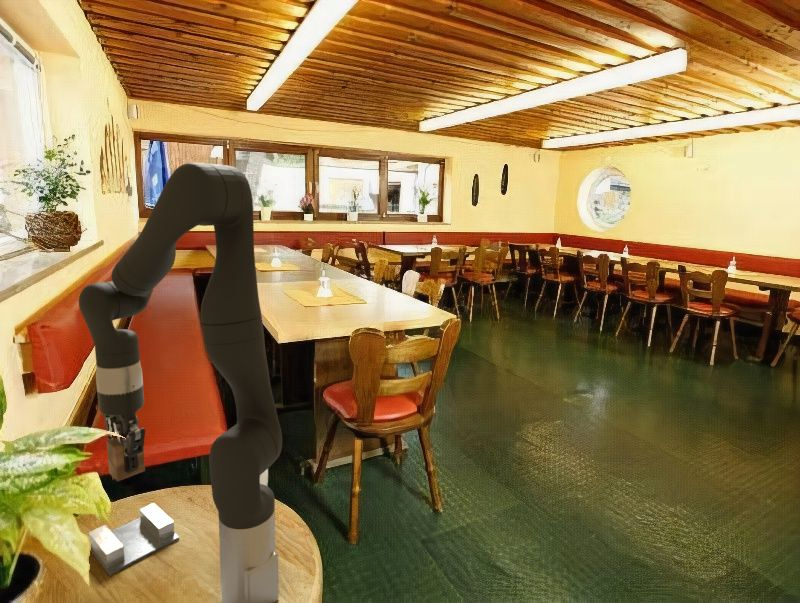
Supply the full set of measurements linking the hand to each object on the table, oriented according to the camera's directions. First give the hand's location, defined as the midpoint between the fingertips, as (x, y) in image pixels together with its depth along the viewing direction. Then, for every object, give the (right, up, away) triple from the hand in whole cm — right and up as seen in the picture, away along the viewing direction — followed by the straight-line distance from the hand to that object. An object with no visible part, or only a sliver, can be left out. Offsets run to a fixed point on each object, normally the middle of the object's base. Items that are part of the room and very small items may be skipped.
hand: (126, 466), depth 92 cm
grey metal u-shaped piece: (-1, -17, +4) cm, 17 cm away
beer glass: (+21, -16, +12) cm, 29 cm away
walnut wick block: (0, -1, 0) cm, 1 cm away
